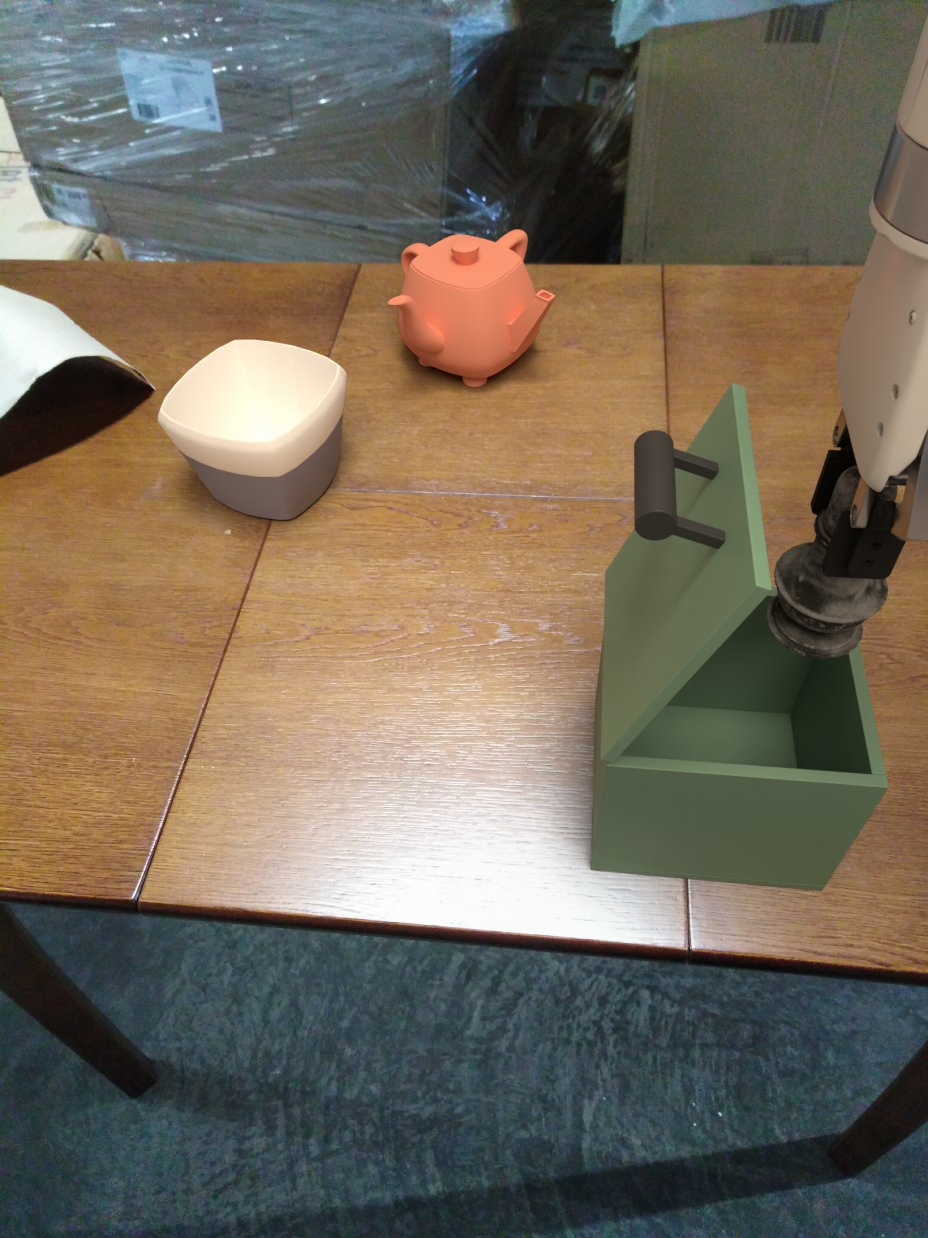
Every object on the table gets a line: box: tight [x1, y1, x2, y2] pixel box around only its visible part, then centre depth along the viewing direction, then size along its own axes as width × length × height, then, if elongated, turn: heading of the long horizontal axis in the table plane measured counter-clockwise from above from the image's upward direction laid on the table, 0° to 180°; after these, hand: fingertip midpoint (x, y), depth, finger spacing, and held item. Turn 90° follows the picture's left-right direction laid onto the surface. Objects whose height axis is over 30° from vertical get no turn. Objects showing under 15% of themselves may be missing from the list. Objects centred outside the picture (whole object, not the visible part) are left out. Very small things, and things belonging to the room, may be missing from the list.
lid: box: [601, 382, 773, 762], centre depth 49 cm, size 16×15×5 cm
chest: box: [590, 586, 890, 892], centre depth 61 cm, size 16×15×14 cm
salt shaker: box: [766, 465, 899, 659], centre depth 46 cm, size 6×6×12 cm
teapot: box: [387, 228, 557, 388], centre depth 97 cm, size 16×17×14 cm
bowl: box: [157, 339, 348, 521], centre depth 86 cm, size 15×15×11 cm
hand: (847, 539), depth 46 cm, fingers closed on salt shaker, 3 cm apart
